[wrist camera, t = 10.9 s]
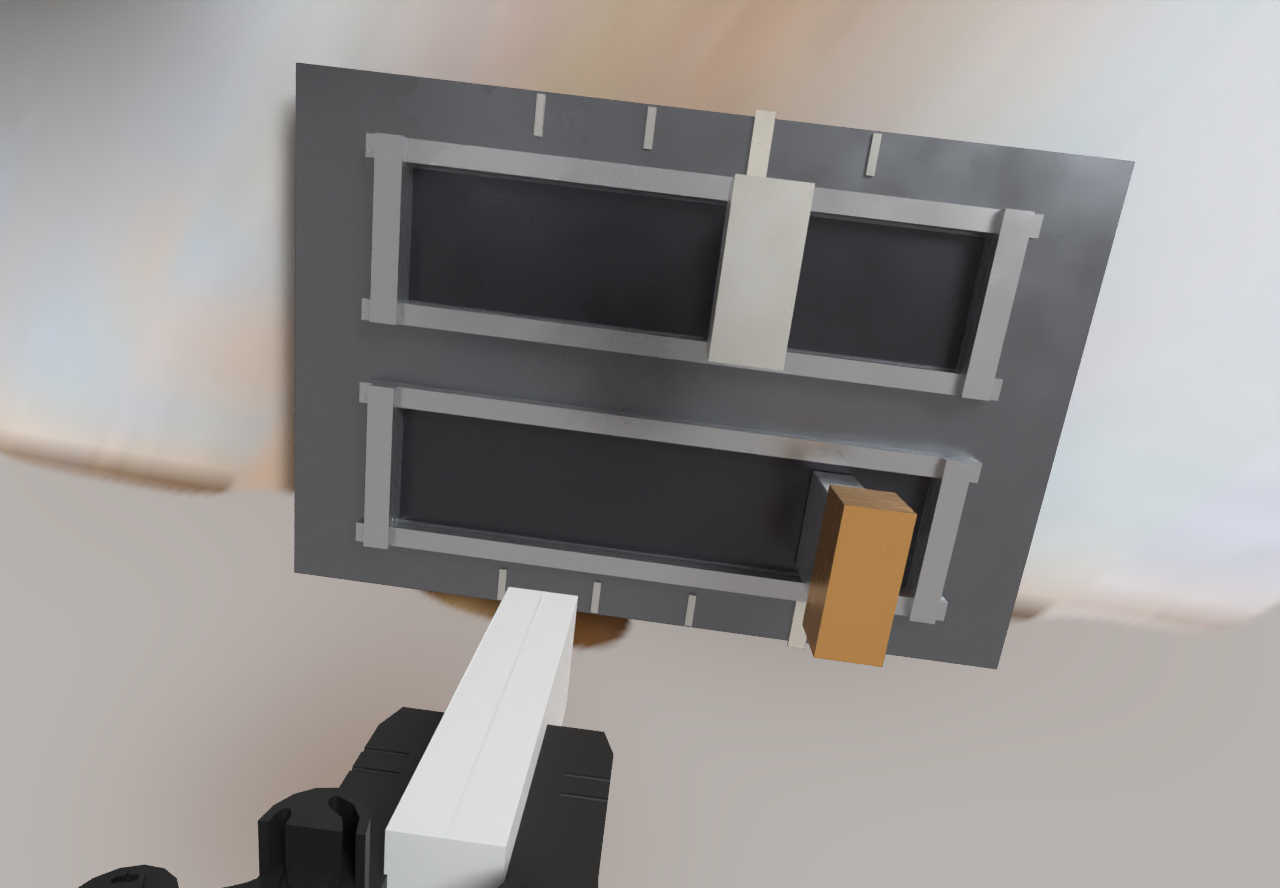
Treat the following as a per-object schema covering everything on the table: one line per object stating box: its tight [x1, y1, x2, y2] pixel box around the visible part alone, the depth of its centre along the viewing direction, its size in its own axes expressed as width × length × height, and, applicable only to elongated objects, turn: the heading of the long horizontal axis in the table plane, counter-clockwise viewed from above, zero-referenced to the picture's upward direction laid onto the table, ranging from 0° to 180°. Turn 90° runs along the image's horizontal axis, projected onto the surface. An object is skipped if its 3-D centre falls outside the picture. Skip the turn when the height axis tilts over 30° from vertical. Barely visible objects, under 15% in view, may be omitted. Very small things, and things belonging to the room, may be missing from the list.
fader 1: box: [706, 174, 815, 371], centre depth 23 cm, size 2×5×6 cm, turn 173°
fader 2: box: [795, 471, 917, 667], centre depth 25 cm, size 2×5×6 cm, turn 173°
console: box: [294, 63, 1135, 669], centre depth 27 cm, size 30×20×3 cm
